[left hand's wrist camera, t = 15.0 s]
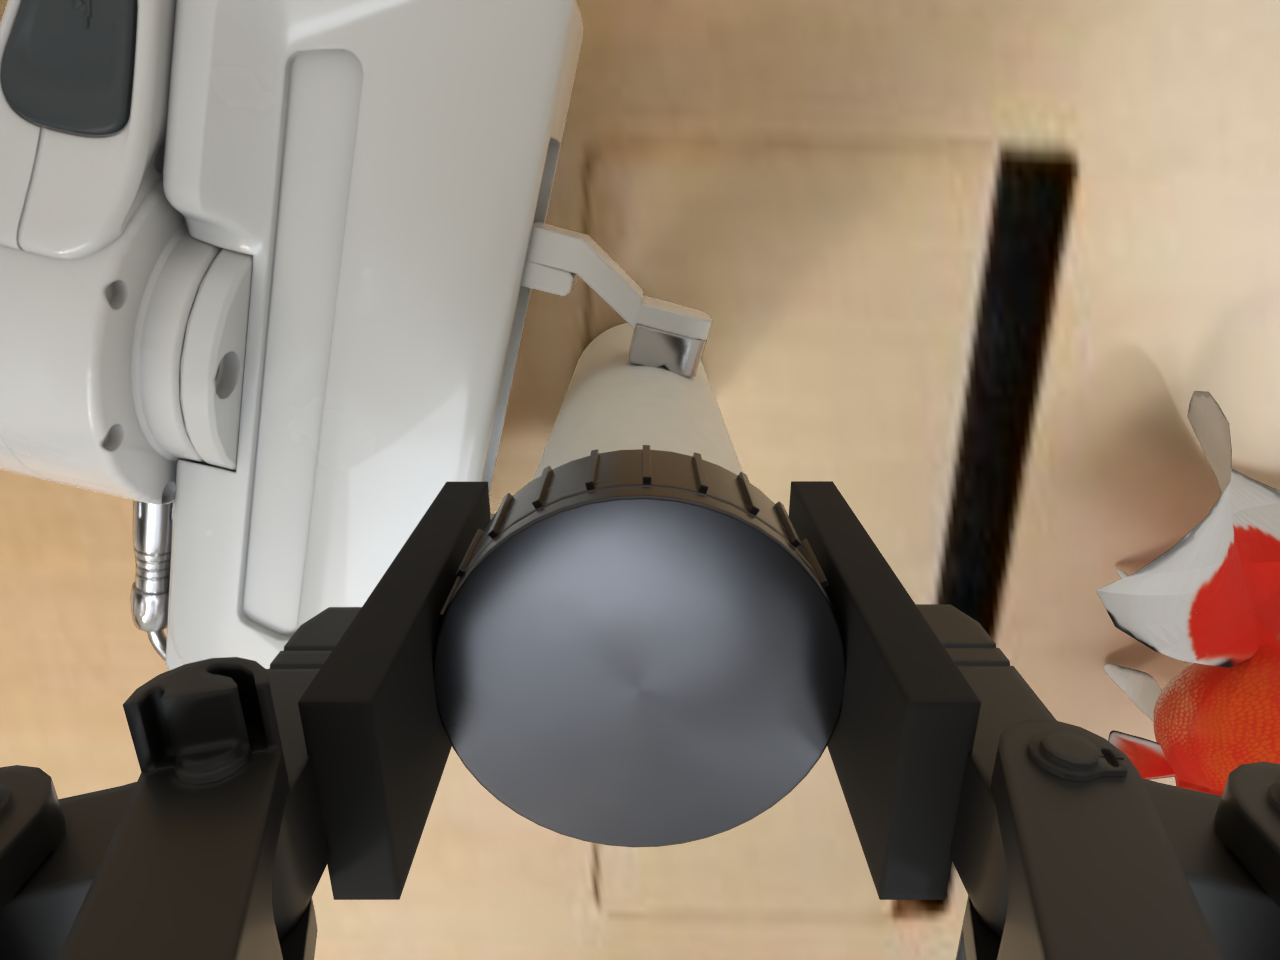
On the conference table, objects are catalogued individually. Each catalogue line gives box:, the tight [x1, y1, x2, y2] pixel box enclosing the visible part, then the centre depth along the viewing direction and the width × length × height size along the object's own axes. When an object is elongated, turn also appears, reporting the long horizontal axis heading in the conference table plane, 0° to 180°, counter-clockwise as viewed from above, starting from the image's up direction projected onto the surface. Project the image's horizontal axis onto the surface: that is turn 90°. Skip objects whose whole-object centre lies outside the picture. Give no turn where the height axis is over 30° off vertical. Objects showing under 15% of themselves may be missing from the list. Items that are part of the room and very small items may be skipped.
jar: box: [534, 323, 743, 480], centre depth 19 cm, size 5×5×17 cm
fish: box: [1096, 391, 1280, 796], centre depth 25 cm, size 11×16×10 cm
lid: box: [433, 445, 846, 847], centre depth 11 cm, size 6×6×2 cm
